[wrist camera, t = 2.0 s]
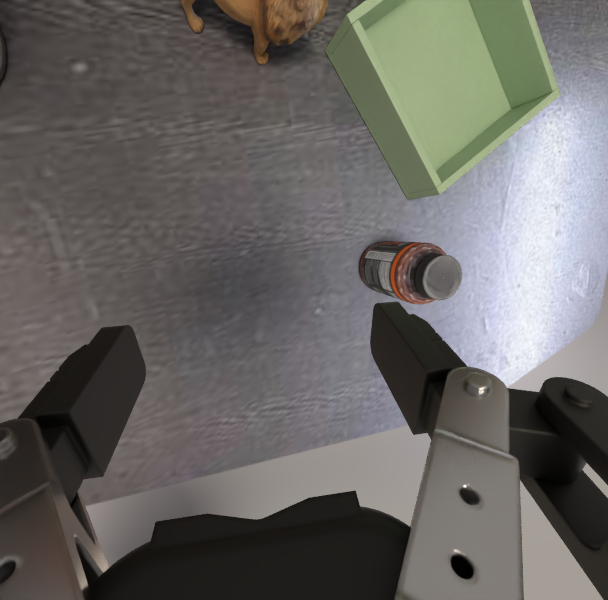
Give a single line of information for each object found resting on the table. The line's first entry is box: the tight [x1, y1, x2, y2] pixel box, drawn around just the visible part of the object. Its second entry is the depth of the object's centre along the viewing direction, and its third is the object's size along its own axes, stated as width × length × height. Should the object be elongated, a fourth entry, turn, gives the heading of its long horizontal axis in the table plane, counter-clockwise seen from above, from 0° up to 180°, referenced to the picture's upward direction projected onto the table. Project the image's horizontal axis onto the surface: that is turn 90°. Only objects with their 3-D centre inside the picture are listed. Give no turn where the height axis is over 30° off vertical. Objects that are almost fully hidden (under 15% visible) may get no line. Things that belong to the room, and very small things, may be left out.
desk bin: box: [325, 0, 561, 200], centre depth 33 cm, size 18×18×6 cm
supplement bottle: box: [360, 241, 462, 304], centre depth 33 cm, size 6×6×11 cm
